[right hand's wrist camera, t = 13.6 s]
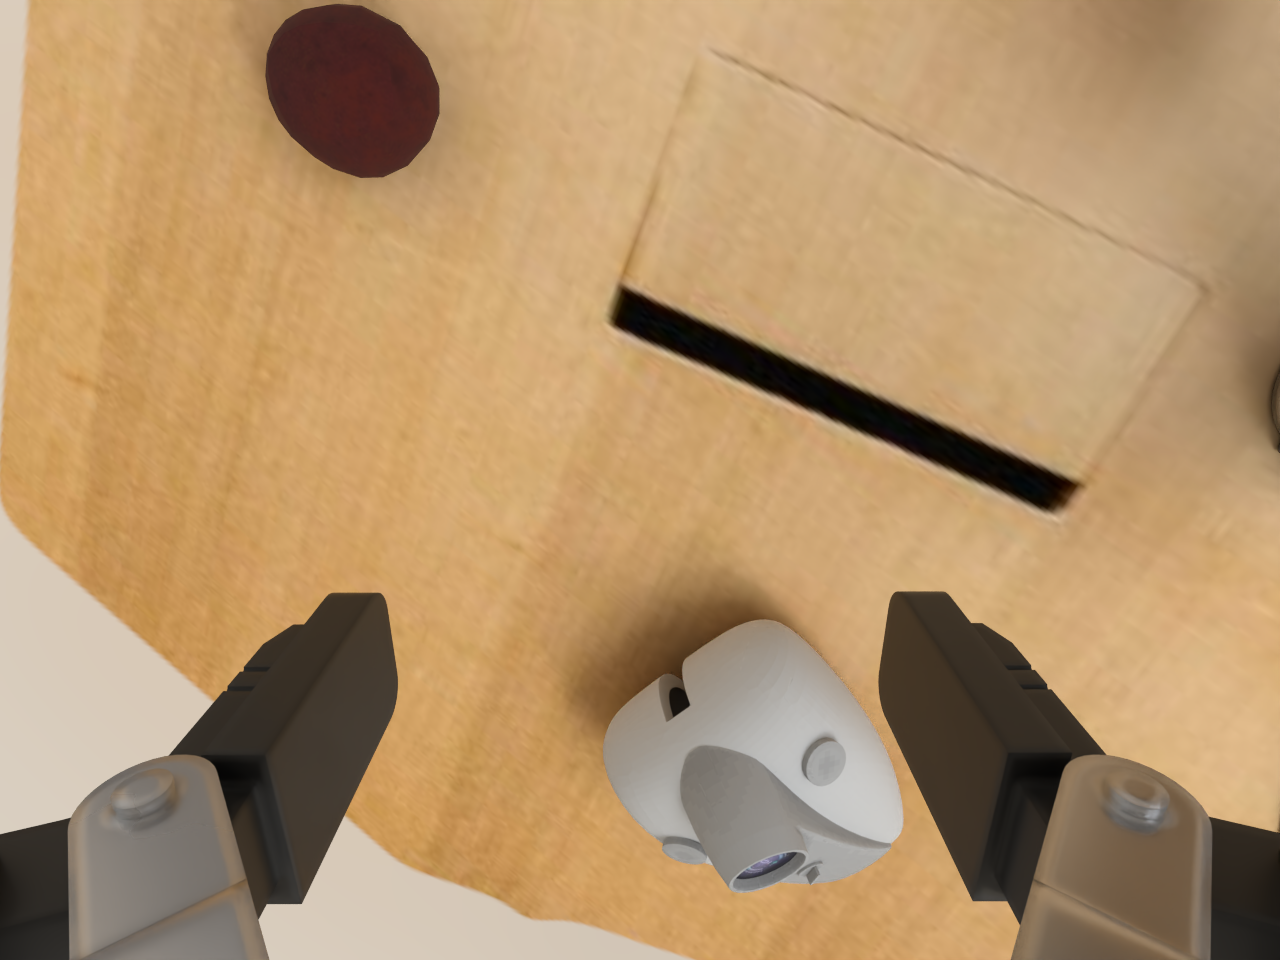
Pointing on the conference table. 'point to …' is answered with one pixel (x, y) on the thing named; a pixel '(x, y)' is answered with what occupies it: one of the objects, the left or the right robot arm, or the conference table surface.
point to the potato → (352, 89)
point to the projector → (756, 764)
